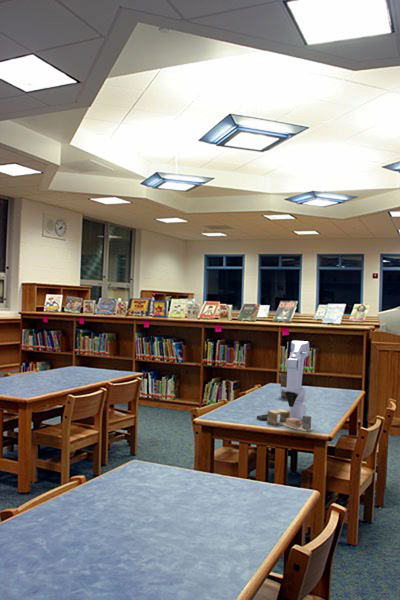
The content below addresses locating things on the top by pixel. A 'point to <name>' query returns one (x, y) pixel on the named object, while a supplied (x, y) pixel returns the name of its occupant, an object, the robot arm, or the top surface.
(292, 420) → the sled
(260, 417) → the tray
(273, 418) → the tunnel
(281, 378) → the plant pot
